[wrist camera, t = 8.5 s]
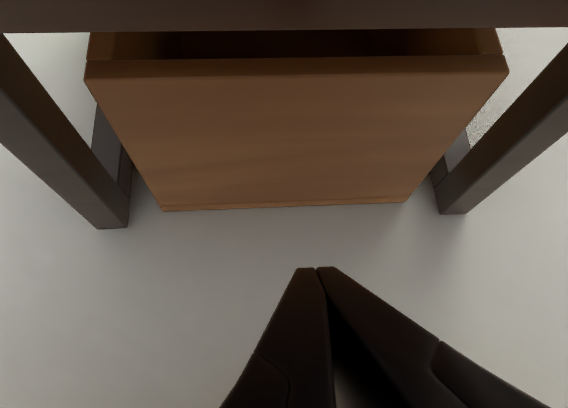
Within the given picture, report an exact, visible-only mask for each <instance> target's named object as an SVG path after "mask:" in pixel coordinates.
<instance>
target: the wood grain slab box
mask: <svg viewBox="0 0 568 408" xmlns="http://www.w3.org/2000/svg"><path fill="white" fill-rule="evenodd" d="M502 54H503V50H502V47H501V44H500V41H499V38H498V35H497V32H496V29H495V28H434V29H343V30H251V31H159V32H90V37H89V44H88V50H87V57H86V60H87V62H86V66H85V73H84V82H85V84H86V86H87V87H88V89H89V91H90V92H91V94H92V96H93V97H94V99H95V101H96V102H97V104H98V106H99V107H100V109H101V110H102V112H103V114H104V115H105V117H106V119H107V120H108V122H109V124H110V125H111V127H112V129H113V130H114V132H115V134H116V135H117V137H118V139H119V140H120V142H121V143H122V145H123V147H124V148H125V150H126V152H127V153H128V155H129V157H130V158H131V160H132V162H133V163H134V165H135V167H136V168H137V170H138V172H139V173H140V175H141V177H142V178H143V180H144V181H145V183H146V185H147V186H148V188H149V190H150V191H151V193H152V195H153V196H154V198H155V200H156V201H157V203H158V205H159V206H160V208H161V210H162V211H184V210H210V209H236V208H261V207H287V206H312V205H338V204H363V203H389V202H405V201H406V200H407V199H408V198H409V196H411V194H412V193H413V192H414V191H415V189H416V188H417V187H418V186H419V184H420V183H421V182H422V181H423V179H424V178H425V177H426V176H427V175H428V173H429V172H430V171H431V170H432V168H433V167H434V166H435V165H436V163H437V162H438V161H439V160H440V158H441V157H442V156H443V155H444V154H445V152H446V151H447V150H448V149H449V147H450V146H451V145H452V144H453V142H454V141H455V140H456V139H457V137H458V136H459V135H460V134H461V133H462V131H463V130H464V129H465V128H466V126H467V125H468V124H469V123H470V121H471V120H472V119H473V118H474V116H475V115H476V114H477V113H478V112H479V110H480V109H481V108H482V107H483V105H484V104H485V103H486V102H487V100H488V99H489V98H490V97H491V95H492V94H493V93H494V92H495V91H496V89H497V88H498V87H499V86H500V84H501V83H502V82H503V81H504V79H505V78H506V77H507V76H508V74H509V68H508V65H507V62H506V59H505V56H504V55H502Z"/></svg>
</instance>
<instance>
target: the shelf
mask: <svg viewBox="0 0 568 408" xmlns="http://www.w3.org/2000/svg"><path fill="white" fill-rule="evenodd" d="M526 27H568V0H0V143H1V144H2V145H3V146H4V147H6V148H7V149H8V150H9V151H10V152H11V153H12V154H13V155H15V156H16V157H17V158H18V159H19V160H20V161H21V162H22V163H24V164H25V165H26V166H27V167H28V168H29V169H30V170H31V171H32V172H34V173H35V174H36V175H37V176H38V177H39V178H40V179H41V180H43V181H44V182H45V183H46V184H47V185H48V186H49V187H50V188H52V189H53V190H54V191H55V192H56V193H57V194H58V195H59V196H61V197H62V198H63V199H64V200H65V201H66V202H67V203H68V204H70V205H71V206H72V207H73V208H74V209H75V210H76V211H77V212H79V213H80V214H81V215H82V216H83V217H84V218H85V219H86V220H88V221H89V222H90V223H91V224H92V225H93V226H94V227H95V228H97V229H107V228H126V227H127V225H128V213H129V202H130V201H129V199H130V190H131V179H132V167H133V162H132V160H131V158H130V157H129V155H128V153H127V152H126V150H125V148H124V147H123V145H122V143H121V142H120V140H119V139H118V137H117V135H116V134H115V132H114V130H113V129H112V127H111V125H110V124H109V122H108V120H107V119H106V117H105V115H104V114H103V112H102V110H101V109H100V107H99V106H98V104H97V107H96V114H95V122H94V129H93V137H92V144H91V149H90V148H89V147H88V145H87V144H86V143H85V141H84V140H83V139H82V137H81V136H80V135H79V133H78V132H77V131H76V129H75V128H74V127H73V125H72V124H71V123H70V121H69V120H68V119H67V117H66V116H65V115H64V114H63V112H62V111H61V110H60V108H59V107H58V106H57V104H56V103H55V102H54V100H53V99H52V98H51V96H50V95H49V94H48V92H47V91H46V90H45V88H44V87H43V86H42V85H41V83H40V82H39V81H38V79H37V78H36V77H35V75H34V74H33V73H32V71H31V70H30V69H29V67H28V66H27V65H26V63H25V62H24V61H23V59H22V58H21V57H20V56H19V54H18V53H17V52H16V50H15V49H14V48H13V46H12V45H11V44H10V42H9V41H8V40H7V38H6V37H5V36H4V34H3V33H68V32H159V31H251V30H343V29H434V28H526ZM567 132H568V43H567V44H566V46H565V47H564V48H563V49H562V50H561V51H560V52H559V53H558V54H557V55H556V57H555V58H554V59H553V60H552V61H551V62H550V63H549V64H548V65H547V66H546V67H545V69H544V70H543V71H542V72H541V73H540V74H539V75H538V76H537V77H536V78H535V80H534V81H533V82H532V83H531V84H530V85H529V86H528V87H527V88H526V89H525V90H524V92H523V93H522V94H521V95H520V96H519V97H518V98H517V99H516V100H515V101H514V103H513V104H512V105H511V106H510V107H509V108H508V109H507V110H506V111H505V112H504V113H503V115H502V116H501V117H500V118H499V119H498V120H497V121H496V122H495V123H494V124H493V126H492V127H491V128H490V129H489V130H488V131H487V132H486V133H485V134H484V135H483V136H482V138H481V139H480V140H479V141H478V142H477V143H476V144H475V145H474V146H473V147H472V149H471V148H470V145H469V141H468V137H467V133H466V130H465V129H464V130H463V131H462V133H461V134H460V135H459V136H458V137H457V139H456V140H455V141H454V142H453V144H452V145H451V146H450V147H449V149H448V150H447V151H446V152H445V154H444V155H443V156H442V157H441V158H440V160H439V161H438V162H437V163H436V165H435V166H434V167H433V168H432V170H431V171H430V174H431V178H432V183H433V187H434V188H435V195H436V199H437V204H438V208H439V213H440V214H464V213H468V212H469V211H470V210H471V209H473V208H474V207H475V206H476V205H478V204H479V203H480V202H481V201H483V200H484V199H485V198H486V197H488V196H489V195H490V194H491V193H493V192H494V191H495V190H496V189H498V188H499V187H500V186H501V185H503V184H504V183H505V182H506V181H507V180H509V179H510V178H511V177H512V176H514V175H515V174H516V173H517V172H519V171H520V170H521V169H522V168H524V167H525V166H526V165H527V164H529V163H530V162H531V161H532V160H534V159H535V158H536V157H537V156H539V155H540V154H541V153H542V152H544V151H545V150H546V149H547V148H549V147H550V146H551V145H552V144H554V143H555V142H556V141H557V140H559V139H560V138H561V137H562V136H563V135H565V134H566V133H567Z"/></svg>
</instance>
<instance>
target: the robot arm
mask: <svg viewBox="0 0 568 408" xmlns="http://www.w3.org/2000/svg"><path fill="white" fill-rule="evenodd" d="M219 408H550V407H549V406H547V405H545V404H543V403H542V402H540V401H538V400H536V399H535V398H533V397H531V396H529V395H528V394H526V393H524V392H523V391H521V390H519V389H517V388H516V387H514V386H512V385H510V384H509V383H507V382H505V381H504V380H502V379H500V378H499V377H497V376H495V375H494V374H492V373H490V372H489V371H487V370H485V369H484V368H482V367H481V366H479V365H477V364H476V363H474V362H473V361H471V360H470V359H468V358H467V357H465V356H464V355H462V354H461V353H459V352H458V351H456V350H455V349H453V348H452V347H450V346H449V345H447V344H446V343H445V342H443V341H440V340H439V338H437V337H436V336H434V335H433V334H431V333H430V332H428V331H427V330H425V329H424V328H423V327H421V326H420V325H418V324H417V323H415V322H414V321H412V320H411V319H410V318H408V317H407V316H405V315H404V314H402V313H401V312H399V311H398V310H396V309H395V308H394V307H392V306H391V305H389V304H388V303H386V302H385V301H383V300H382V299H380V298H379V297H378V296H376V295H375V294H373V293H372V292H370V291H369V290H367V289H366V288H365V287H363V286H362V285H360V284H359V283H357V282H356V281H354V280H353V279H351V278H350V277H349V276H347V275H346V274H344V273H343V272H341V271H340V270H338V269H337V268H335V267H333V266H329V267H318V268H316V270H315V268H313V267H309V268H297V269H296V270H295V272H294V274H293V276H292V278H291V280H290V282H289V284H288V286H287V288H286V290H285V292H284V294H283V296H282V297H281V299H280V301H279V303H278V305H277V307H276V309H275V311H274V313H273V315H272V317H271V319H270V321H269V323H268V325H267V327H266V328H265V330H264V332H263V334H262V336H261V338H260V340H259V342H258V344H257V346H256V348H255V350H254V353H253V354H252V355H251V357H250V359H249V361H248V363H247V365H246V367H245V368H244V370H243V372H242V374H241V375H240V377H239V379H238V381H237V382H236V384H235V386H234V387H233V389H232V390H231V391H230V393H229V394H228V396H227V397H226V399H225V400H224V402H223V403H222V405H221V406H220V407H219Z"/></svg>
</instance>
